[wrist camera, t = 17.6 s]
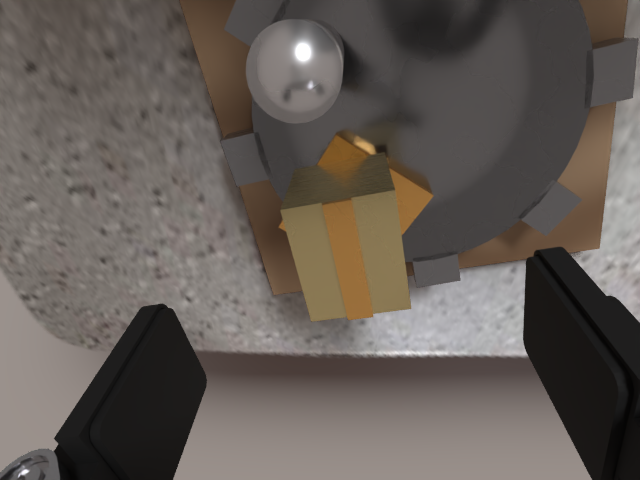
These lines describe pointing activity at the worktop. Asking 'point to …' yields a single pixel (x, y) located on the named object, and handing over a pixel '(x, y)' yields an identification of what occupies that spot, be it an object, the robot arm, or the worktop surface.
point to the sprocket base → (514, 244)
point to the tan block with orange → (347, 238)
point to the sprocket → (429, 107)
